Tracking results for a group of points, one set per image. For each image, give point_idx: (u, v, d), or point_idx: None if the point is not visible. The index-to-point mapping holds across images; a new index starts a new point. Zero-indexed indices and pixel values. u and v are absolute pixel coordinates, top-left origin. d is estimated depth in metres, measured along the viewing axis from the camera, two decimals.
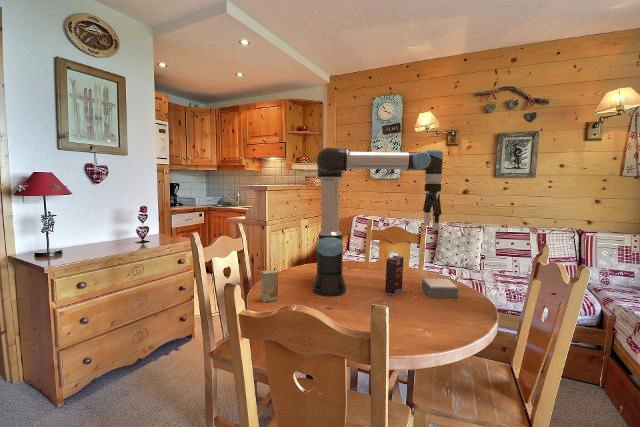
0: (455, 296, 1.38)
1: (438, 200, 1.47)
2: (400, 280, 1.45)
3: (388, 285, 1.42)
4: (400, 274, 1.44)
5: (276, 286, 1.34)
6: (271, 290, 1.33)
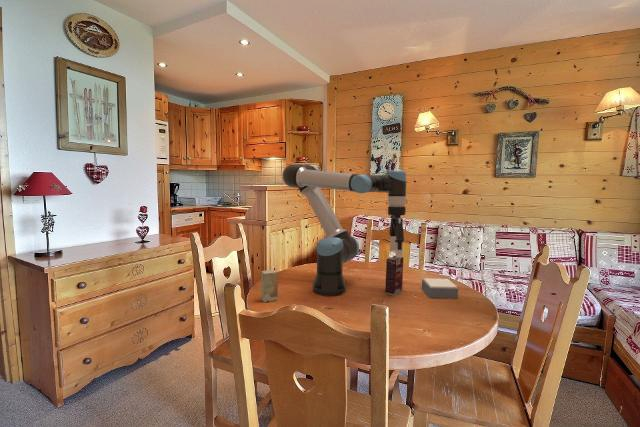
0: (455, 296, 1.38)
1: (401, 225, 1.35)
2: (400, 280, 1.45)
3: (388, 285, 1.42)
4: (400, 274, 1.44)
5: (276, 286, 1.34)
6: (271, 290, 1.33)
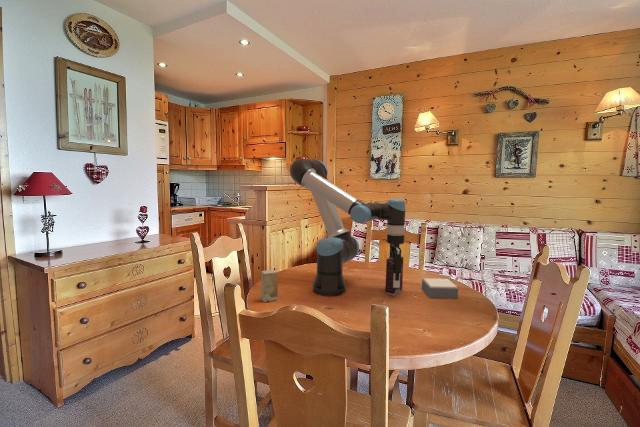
0: (455, 296, 1.38)
1: (399, 257, 1.37)
2: (400, 280, 1.45)
3: (388, 285, 1.42)
4: (400, 274, 1.44)
5: (276, 286, 1.34)
6: (271, 290, 1.33)
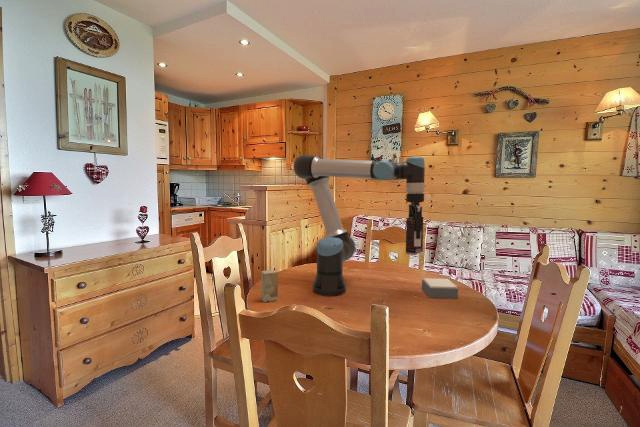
0: (455, 296, 1.38)
1: (420, 214, 1.34)
2: (421, 240, 1.42)
3: (409, 245, 1.39)
4: None
5: (276, 286, 1.34)
6: (271, 290, 1.33)
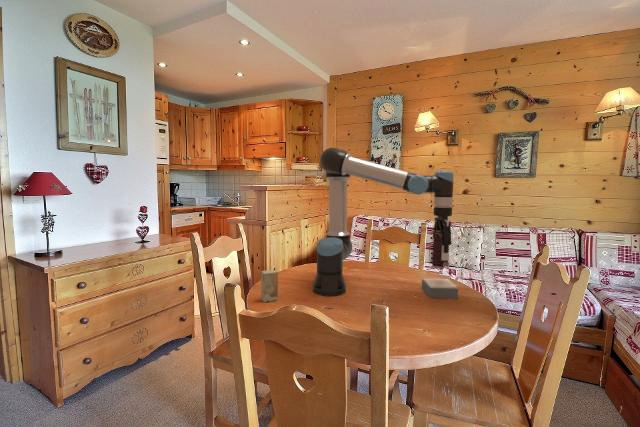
0: (455, 296, 1.38)
1: (448, 228, 1.35)
2: None
3: (436, 258, 1.40)
4: None
5: (276, 286, 1.34)
6: (271, 290, 1.33)
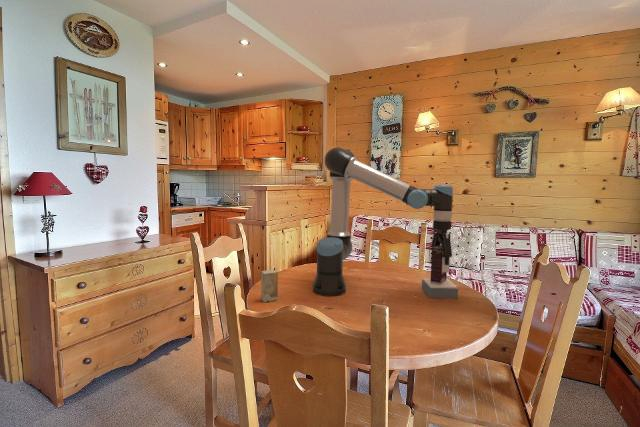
0: (455, 296, 1.38)
1: (448, 240, 1.35)
2: None
3: (434, 274, 1.42)
4: None
5: (276, 286, 1.34)
6: (271, 290, 1.33)
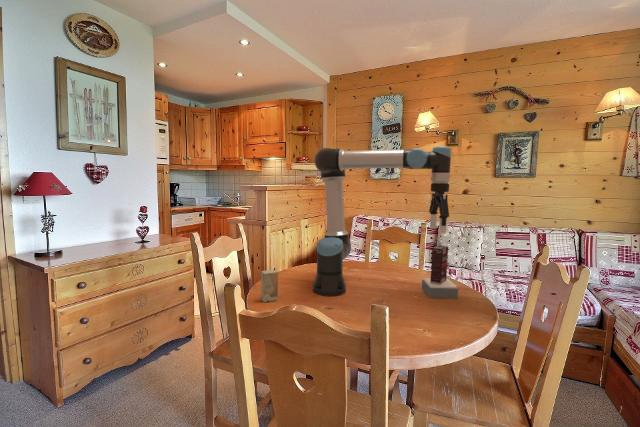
0: (455, 296, 1.38)
1: (445, 201, 1.35)
2: (445, 269, 1.44)
3: (434, 274, 1.42)
4: (445, 264, 1.43)
5: (276, 286, 1.34)
6: (271, 290, 1.33)
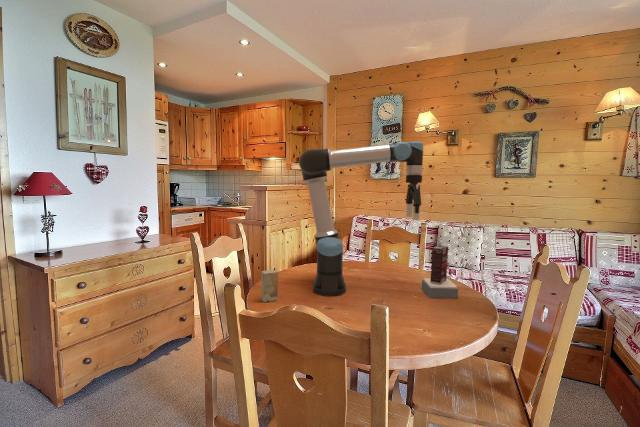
0: (455, 296, 1.38)
1: (418, 191, 1.49)
2: (445, 269, 1.44)
3: (434, 274, 1.42)
4: (445, 264, 1.43)
5: (276, 286, 1.34)
6: (271, 290, 1.33)
